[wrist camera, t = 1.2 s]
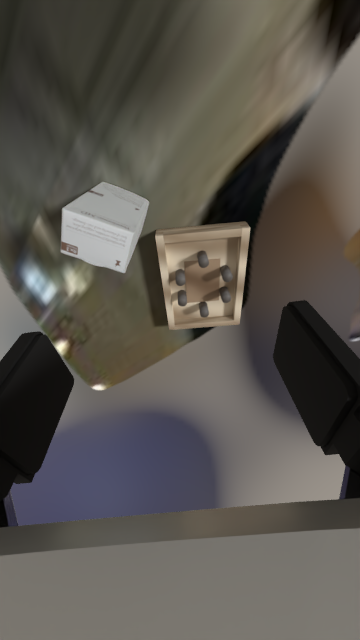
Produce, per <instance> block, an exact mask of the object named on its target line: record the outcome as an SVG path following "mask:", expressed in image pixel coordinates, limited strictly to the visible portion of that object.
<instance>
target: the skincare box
mask: <svg viewBox="0 0 360 640" xmlns="http://www.w3.org/2000/svg"><path fill="white" fill-rule="evenodd" d="M148 205H149V201H148V200H147V199H145V198H143V197H141V196H138V195H136V194H134V193H132V192H129V191H127V190H125V189H122V188H120V187H117V186H114V185H112V184H109V183H106V182H101V183H100V184H98V185H97V186H95V187H94V188H92V189H91V190H89V191H88V192H86V193H85V194H83V195H82V196H80V197H79V198H77V199H76V200H74V201H73V202H71V203H69V204H68V205H66V206H65V207H63V208H62V224H61V248H60V252H61V253H62V254H66V255H69V256H72V257H75V258H78V259H81V260H83V261H85V262H87V263H90V264H92V265H95V266H100V267H106V268H109V269H112V270H115V271H118V272H121V273H125V272H126V268H127V266H128V263H129V261H130V259H131V256H132V254H133V251H134V249H135V246H136V244H137V241H138V239H139V236H140V233H141V231H142V228H143V224H144V221H145V217H146V213H147V209H148Z"/></svg>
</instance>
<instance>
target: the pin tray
mask: <svg viewBox="0 0 360 640" xmlns="http://www.w3.org/2000/svg"><path fill="white" fill-rule="evenodd" d="M249 235H250V227H249V225H248V224H247V223H246V222H235V223H224V224H213V225H202V226H191V227H180V228H170V229H159V230H156V235H155V238H156V245H157V251H158V258H159V265H160V271H161V278H162V284H163V291H164V298H165V304H166V311H167V317H168V324H169V330H173V329H186V328H199V327H212V326H225V325H237V324H240V315H241V306H242V297H243V288H244V280H245V271H246V262H247V253H248V244H249Z"/></svg>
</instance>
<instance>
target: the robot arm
mask: <svg viewBox="0 0 360 640" xmlns="http://www.w3.org/2000/svg"><path fill="white" fill-rule="evenodd" d="M273 358H274V362H275V365H276V367H277V369H278V371H279V373H280V375H281V377H282V379H283V381H284V383H285V385H286V387H287V389H288V391H289V393H290V395H291V397H292V399H293V401H294V403H295V405H296V407H297V409H298V411H299V413H300V415H301V417H302V419H303V421H304V423H305V425H306V427H307V429H308V432H309V433H310V435H311V437H312V439H313V441H314V443H315V444H316V445H317V446H321V448H322V450H323V452H324V454H325V455H332V454H339V455H340V457H341V458H342V460H343V462H344V463H345V465H346V466H345V471H344V477H343V482H342V487H341V492H340V497H339V499H338V500H324V501H323V500H322V501H307V502H292V503H279V504H269V505H255V506H243V507H231V508H219V509H206V510H194V511H183V512H171V513H160V514H148V515H136V516H125V517H113V518H103V519H90V520H79V521H68V522H57V523H46V524H35V525H24V526H18V522H17V518H16V513H15V509H14V504H13V500H12V496H11V492H10V489H11V487H12V485H13V482H14V483H16V484H20V483H30V482H32V480H33V477H34V475H35V473H36V472H38V470H39V469H40V468H41V465H42V463H43V461H44V458H45V455H46V453H47V450H48V448H49V445H50V443H51V440H52V438H53V435H54V433H55V430H56V428H57V425H58V423H59V420H60V417H61V415H62V413H63V410H64V408H65V405H66V402H67V400H68V397H69V395H70V392H71V390H72V387H73V385H74V378H73V376H72V374H71V373H70V371H69V369H68V368H67V366H66V365H65V363H64V362H63V360H62V359H61V357H60V355H59V354H58V352H57V351H56V349H55V348H54V346H53V344H52V343H51V341H50V340H49V338H48V337H47V336H46V335H43V333H41V332H30V333H24V334H22V335H21V336H20V337H19V338H18V340H17V341H16V342H15V343H14V345H13V346H12V347H11V348H10V350H9V351H8V352H7V353H6V355H5V356H4V357H3V359H2V360H1V361H0V640H360V359H359V358H358V357H357V356H356V354H355V353H354V352H353V351H352V350H351V349H350V348H349V347H348V346H347V345H346V343H345V342H344V341H343V340H342V339H341V338H340V337H339V336H338V335H337V334H336V333H335V331H334V330H333V329H332V328H331V327H330V326H329V325H328V324H327V322H326V321H325V320H324V319H323V318H322V317H321V316H320V315H319V314H318V313H317V311H316V310H315V309H314V308H313V307H312V306H311V305H310V304H309V303H308V302H307V301H305V300H304V301H295V302H289V303H288V304H287V306H286V307H284V308H283V310H282V315H281V320H280V325H279V329H278V334H277V339H276V344H275V349H274V354H273Z"/></svg>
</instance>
